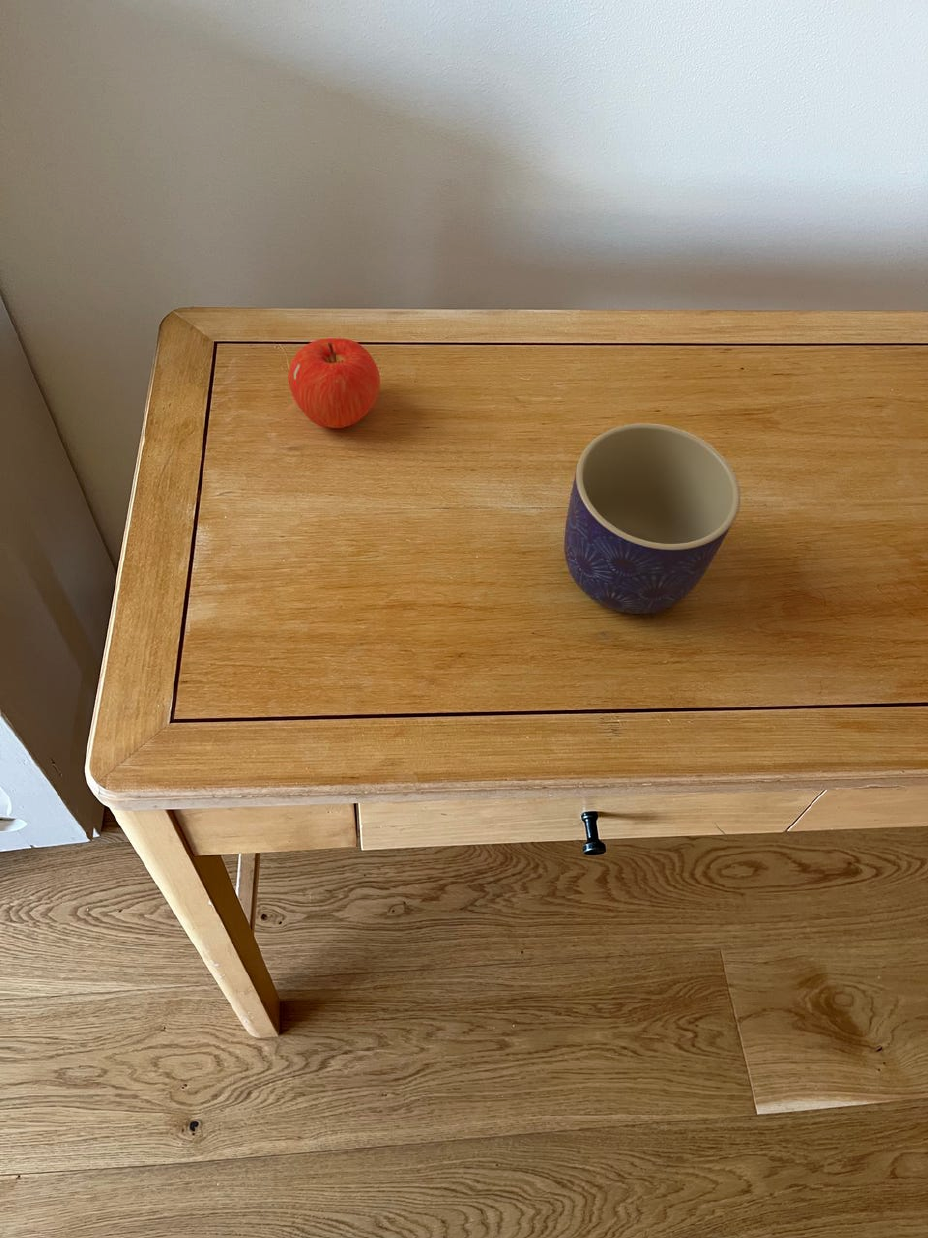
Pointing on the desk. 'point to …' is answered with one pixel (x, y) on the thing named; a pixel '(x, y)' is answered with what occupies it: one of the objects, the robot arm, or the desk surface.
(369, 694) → the desk surface
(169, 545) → the desk surface
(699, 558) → the planter
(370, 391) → the apple
